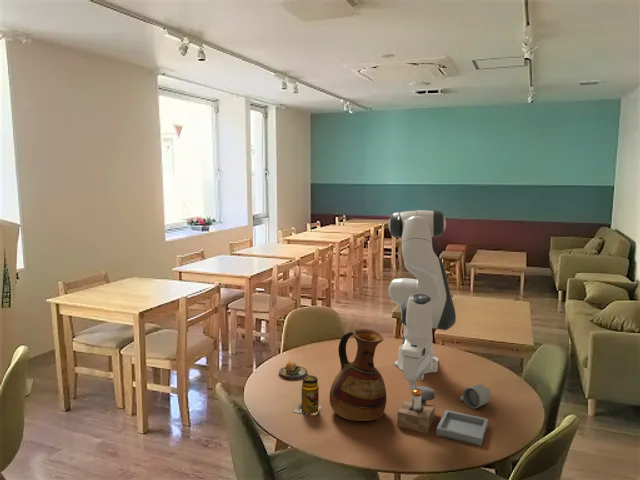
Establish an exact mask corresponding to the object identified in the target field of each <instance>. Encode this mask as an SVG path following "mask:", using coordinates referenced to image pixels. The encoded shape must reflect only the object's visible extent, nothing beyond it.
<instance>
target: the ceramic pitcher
mask: <svg viewBox="0 0 640 480" xmlns="http://www.w3.org/2000/svg"><path fill="white" fill-rule="evenodd" d="M351 336H352V337H354V339H355V341H356V343H357V344H356V345H357V351H356V355H355V358H354V360H353V361H352V362H350V361H349V360H348V354H347V343H348V341H349V339H350V337H351ZM383 341H384V337H383V336H382V335H381V334H380V333H379V332H377V331H375V330H372V329H368V328H367V329H366V328H363V329H362V328H358V329H357V328H356V329H355V330H352V331H349V332H345V334H344V335H343V336H342V337H341V339H340V341H339V344H338V348H337V349H338V356H339V361H340V367H341V368H340V370H339V371H338V373H337V375H336V376H335V378H334V380H333V382H332V383H331V387H330V390H329V396H328V397H329V400H328V401H329V405H330V407H331V408H332V410H333V412H334V413H335V414H336V415H338V416H340V417H342V418H344V419H347V420H349V421H358V422H359V421H361V422H362V421H363V422H365V421H367V422H368V421H374V420H378V419H380V418H382V416H383V414H384V413H385V409H386V406H387V398H388V397H387V389H386V384H385V381H384V378H383V376H382V374H381V372H380V370H378V369H377V368H376V367H375V365H374V358H375V352H376V349H377V347H378V345H379V344H380V343H382V342H383Z"/></svg>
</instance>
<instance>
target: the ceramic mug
mask: <svg viewBox="0 0 640 480" xmlns="http://www.w3.org/2000/svg"><path fill="white" fill-rule="evenodd" d="M459 398H460V401H463V402H464V404H465V405H466V406H467V407H469V408H471V409H477V408H480V407H481V406H484V405H485V404H486V405H487V403H488V402H490V400H491V392H490V389H489V388H488V387H487V386H485V385H484V384H476V385H473V386H470V387H466V389H464V390H463V392H462V395H460V397H459Z"/></svg>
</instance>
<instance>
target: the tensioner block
mask: <svg viewBox="0 0 640 480" xmlns="http://www.w3.org/2000/svg"><path fill="white" fill-rule="evenodd" d="M416 388H418V389H421V390H422V391H423V393H422V395H421V413H419V412H415V411H412V400H408V399H406V400H405V401H404V402H403V404H402V405H401V407H400V408H399V409H398V411H397V417H396V419H397V421H396V424H397V425H396V426H397V427H400V428H403V429H408V430H410V431H412V430H413V431H416V432H421V433H425V434H427V433H428V432H429V431H430V428H431V426H432V425H433V423H434V421H435V410H436V409H435V405H433V404H432V405H431V404H428V403H427V401H433V400H434V399H435V398H436V391H435V389H433V388H431V387H429V386H423V385H422V386H421V385H420V386H416Z"/></svg>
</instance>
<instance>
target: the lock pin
mask: <svg viewBox="0 0 640 480" xmlns="http://www.w3.org/2000/svg"><path fill="white" fill-rule="evenodd" d="M422 393H423V391H422V390H421V389H418V388H416V389H415V390H411V396H412V397H411V398H412V400H411V401H412V411H415V412H419V413H421V395H422Z"/></svg>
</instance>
